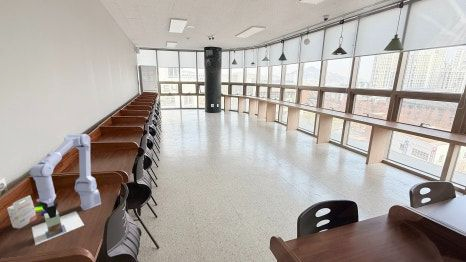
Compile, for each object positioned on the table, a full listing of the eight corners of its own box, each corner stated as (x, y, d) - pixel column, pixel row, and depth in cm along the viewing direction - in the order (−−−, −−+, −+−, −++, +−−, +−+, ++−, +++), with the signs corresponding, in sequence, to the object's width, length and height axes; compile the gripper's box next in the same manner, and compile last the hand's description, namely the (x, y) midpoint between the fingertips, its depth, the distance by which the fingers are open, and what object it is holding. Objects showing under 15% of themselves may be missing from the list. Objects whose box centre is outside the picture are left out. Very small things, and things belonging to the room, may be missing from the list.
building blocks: (60, 202, 136) (59, 196, 135) (52, 214, 124) (50, 207, 123) (30, 207, 131) (29, 201, 130) (18, 220, 119) (16, 213, 118)
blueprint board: (76, 211, 125) (76, 211, 125) (84, 225, 113) (84, 225, 113) (31, 228, 112) (31, 227, 112) (35, 245, 100) (35, 245, 100)
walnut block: (61, 226, 112) (59, 218, 110) (62, 231, 108) (60, 222, 107) (48, 231, 108) (46, 223, 107) (49, 236, 105) (47, 227, 104)
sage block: (58, 218, 110) (56, 209, 109) (60, 222, 107) (58, 213, 106) (46, 223, 107) (43, 214, 106) (47, 227, 104) (45, 218, 102)
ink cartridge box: (30, 218, 120) (24, 193, 117) (37, 219, 119) (31, 194, 116) (12, 228, 112) (4, 202, 109) (19, 229, 111) (12, 203, 108)
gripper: (32, 186, 105) (39, 211, 108) (36, 197, 95) (42, 224, 98) (51, 181, 110) (57, 205, 113) (56, 191, 100) (62, 217, 103)
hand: (51, 213), depth 106 cm, fingers open, 7 cm apart
